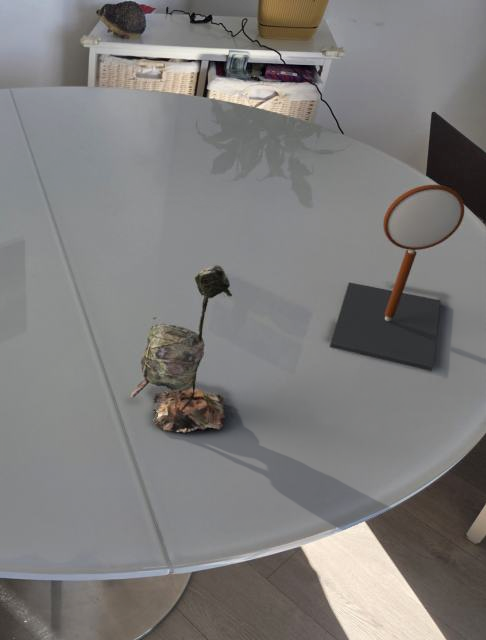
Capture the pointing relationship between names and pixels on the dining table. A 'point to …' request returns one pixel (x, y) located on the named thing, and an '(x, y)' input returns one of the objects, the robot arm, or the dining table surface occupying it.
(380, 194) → the dining table surface
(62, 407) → the dining table surface
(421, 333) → the mat
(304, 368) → the dining table surface
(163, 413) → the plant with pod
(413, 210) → the magnifying glass
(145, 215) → the dining table surface
